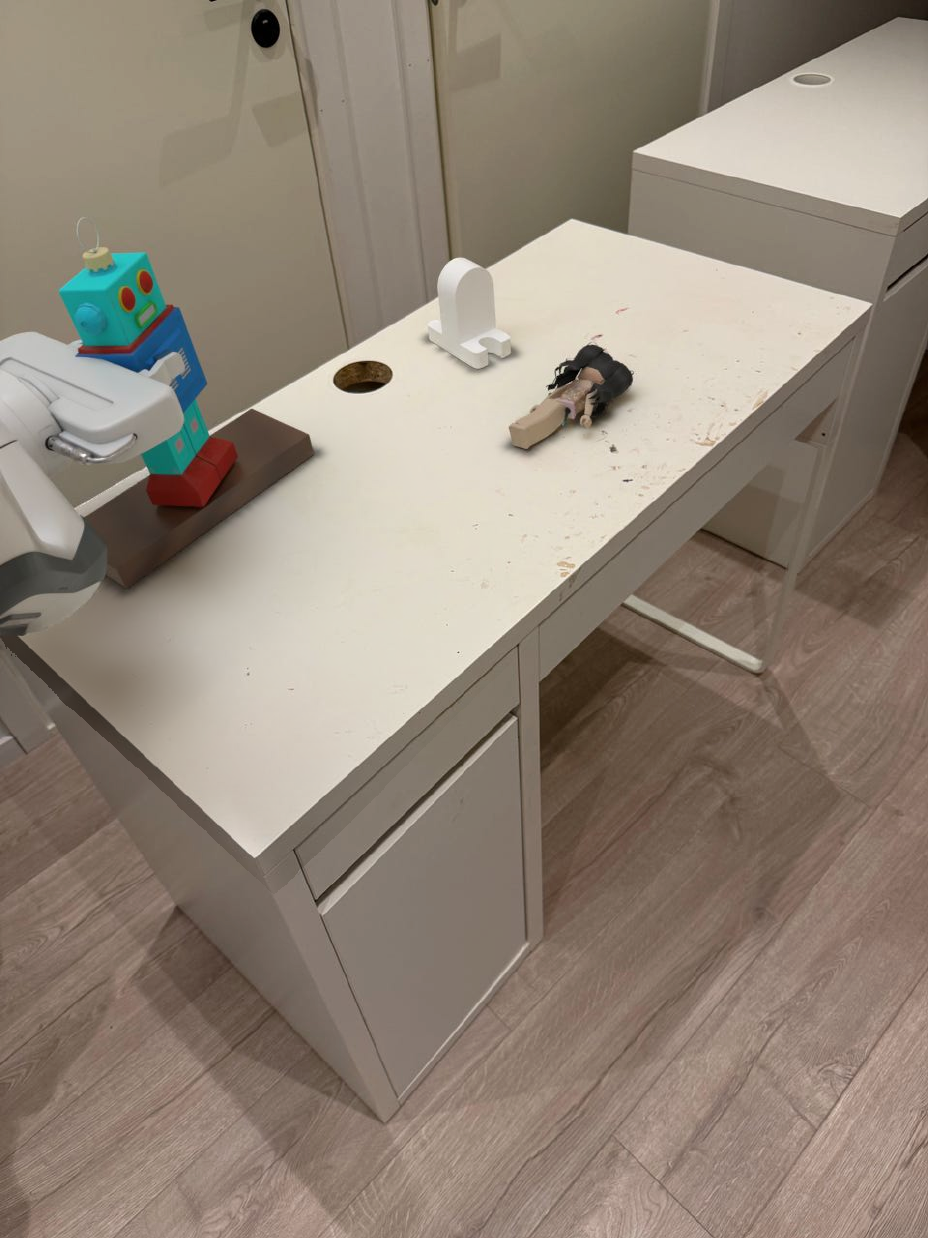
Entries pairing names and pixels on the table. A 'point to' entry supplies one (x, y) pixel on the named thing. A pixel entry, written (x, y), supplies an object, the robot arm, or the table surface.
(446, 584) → the table surface
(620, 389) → the toy figure
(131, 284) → the toy robot
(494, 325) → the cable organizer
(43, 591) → the robot arm
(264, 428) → the brown slab
